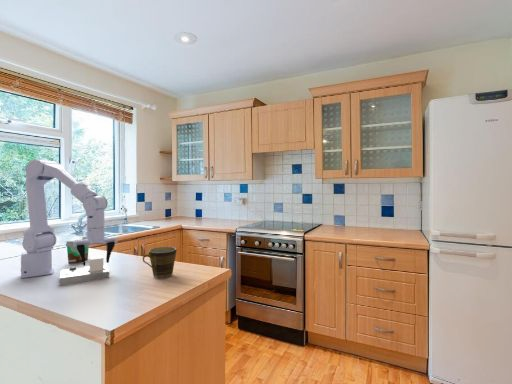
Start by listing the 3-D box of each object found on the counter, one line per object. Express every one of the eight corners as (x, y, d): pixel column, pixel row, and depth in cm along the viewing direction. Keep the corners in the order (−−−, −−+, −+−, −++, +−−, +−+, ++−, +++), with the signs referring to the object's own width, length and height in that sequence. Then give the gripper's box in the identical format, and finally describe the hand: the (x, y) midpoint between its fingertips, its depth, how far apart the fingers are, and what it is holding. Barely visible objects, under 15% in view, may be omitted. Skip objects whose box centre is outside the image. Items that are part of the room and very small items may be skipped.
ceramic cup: (167, 270, 114) (166, 245, 114) (182, 275, 108) (182, 249, 108) (136, 278, 104) (135, 251, 104) (150, 284, 98) (150, 255, 98)
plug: (90, 276, 105) (89, 259, 104) (89, 273, 109) (89, 256, 109) (103, 274, 107) (103, 258, 107) (102, 271, 112) (102, 255, 112)
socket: (59, 285, 97) (59, 276, 97) (61, 276, 107) (61, 268, 107) (109, 278, 105) (108, 269, 105) (106, 270, 115) (106, 262, 115)
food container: (80, 264, 124) (79, 241, 124) (66, 264, 125) (65, 241, 124) (96, 257, 137) (96, 236, 137) (83, 257, 137) (83, 236, 137)
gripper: (72, 230, 100) (73, 268, 101) (118, 227, 108) (118, 263, 108) (73, 228, 106) (73, 264, 107) (116, 225, 114) (116, 259, 114)
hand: (96, 263), depth 108 cm, fingers open, 7 cm apart
